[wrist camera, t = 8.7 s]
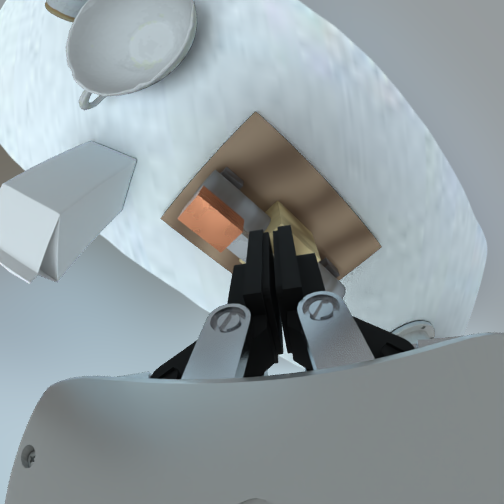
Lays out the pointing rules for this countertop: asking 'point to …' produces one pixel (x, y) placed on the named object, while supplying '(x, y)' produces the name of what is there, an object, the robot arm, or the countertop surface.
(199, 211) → the valve lever
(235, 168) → the stand
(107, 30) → the teacup
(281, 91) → the countertop surface
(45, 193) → the milk carton
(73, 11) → the ceramic mug
